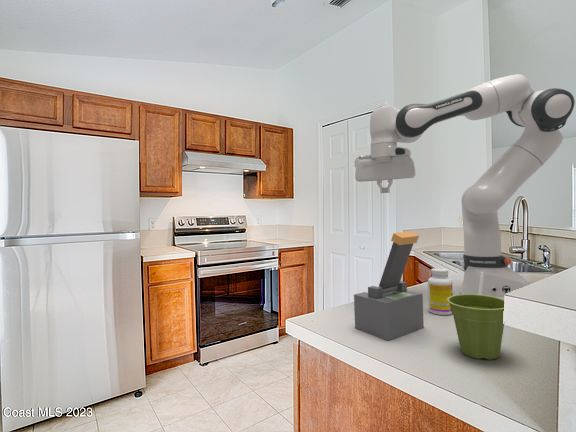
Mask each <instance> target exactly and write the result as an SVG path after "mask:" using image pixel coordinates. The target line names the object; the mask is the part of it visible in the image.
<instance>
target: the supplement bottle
mask: <svg viewBox="0 0 576 432" xmlns="http://www.w3.org/2000/svg"><path fill="white" fill-rule="evenodd" d="M430 274H431V277H429V278H428V280H427V292H428V293H427V295H428V296H427V297H428V298H427V300H428V311H429V312H430V313H432V314H434V315H438V316H448V315H449V316H450V315H453V313H452V311H451V307H450V303H448V302H447V298H448V297H450V296H453V295H454V294H453V280H452V279H451V278H449V277H448V275H449V270H448V269H447V268H437V267H435V268H434V267H433V268H430Z"/></svg>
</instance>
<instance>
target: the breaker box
mask: <svg viewBox="0 0 576 432" xmlns="http://www.w3.org/2000/svg"><path fill="white" fill-rule="evenodd" d="M407 284H408V282H407V281H401V280H400V283H399V286H398V290H396V291H392V292H388V293H384V294H382V288H380V287H379V286H377V285H375V286H374V285H372V286H367V291H363V292H358V293H355V294H353V304H354V305H353V306H354V308H353V309H354V328H355V329H357V330H359V331H362V332H365V333H366V334H369V335H372V336H375V337H377V338H380V339H383V340H385V341H389V342H390V341H392V340H395V339H397V338H400V337H402V336H405V335H407V334H411V333H414V332H416V331H419V330H422V329H424V328H425V326H424V325H425V324H424V322H425V321H424V294H423V293H422V292H417V291H412V290H408V285H407Z"/></svg>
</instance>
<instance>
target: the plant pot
mask: <svg viewBox="0 0 576 432" xmlns="http://www.w3.org/2000/svg"><path fill="white" fill-rule="evenodd" d="M447 302H448V303H450V307H451V311H452V316H453V319H454V325H455V329H456V334H457V339H458V344H459V349H460V350H461V352H462V353H463V354H464V355H466V356H468V357H471V358H474V359H479V360H480V359H486V360H496V359H499V357H500V355H501V350H502V349H501V348H502V341H503V335H504V328H505V323H504V324H503V311H504V299H501V298H498V297H493V296H487V295H478V294H461V293H459V294H453V296H450V297H448V298H447Z"/></svg>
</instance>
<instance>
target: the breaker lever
mask: <svg viewBox="0 0 576 432" xmlns="http://www.w3.org/2000/svg"><path fill="white" fill-rule="evenodd" d="M419 237H420V235H418V234H417V233H414V232H413V231H401V232H394V233H392V236H391V240H390V241H391V242H392V245H391V249H390V251H389V254H388V258H387V259H386V264H385V267H384V269H383V272H382V275H381V278H380V281H379V284H378V287H380V288H382V294H384V293H388V292H392V291H396V290H398V286H399V283H400V281H401V279H402V277H403V274H404V271H405V268H406V266H407V262H408V259H409V257H410V254H411V251H412V250H413V246H414V244H417V243H418V239H419Z"/></svg>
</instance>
